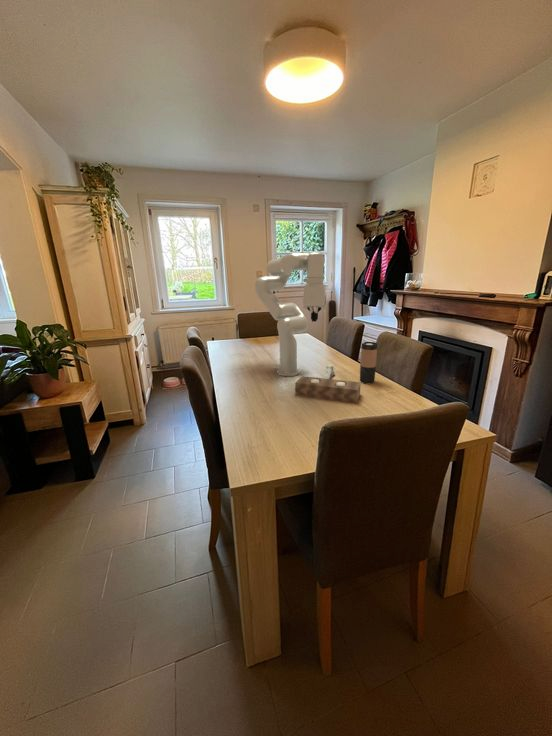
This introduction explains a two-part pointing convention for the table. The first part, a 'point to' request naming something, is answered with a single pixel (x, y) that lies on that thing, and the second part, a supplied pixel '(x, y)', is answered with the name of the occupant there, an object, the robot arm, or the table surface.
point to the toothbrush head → (328, 371)
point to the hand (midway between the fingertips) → (314, 321)
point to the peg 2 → (340, 384)
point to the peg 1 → (314, 381)
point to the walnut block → (328, 389)
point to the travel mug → (368, 362)
